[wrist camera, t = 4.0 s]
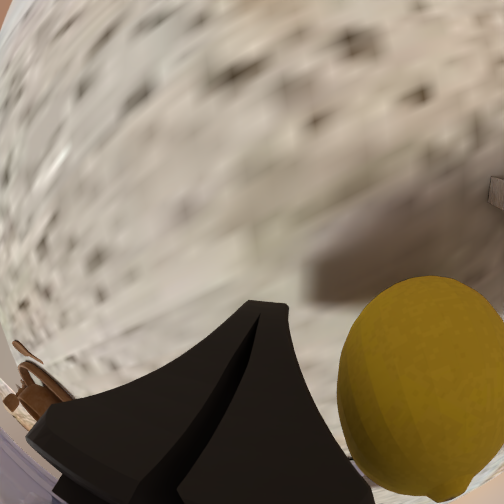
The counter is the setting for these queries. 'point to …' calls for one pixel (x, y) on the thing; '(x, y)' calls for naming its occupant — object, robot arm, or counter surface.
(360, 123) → the counter surface
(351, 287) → the counter surface
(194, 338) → the counter surface
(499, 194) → the rail
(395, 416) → the lemon
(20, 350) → the place setting
